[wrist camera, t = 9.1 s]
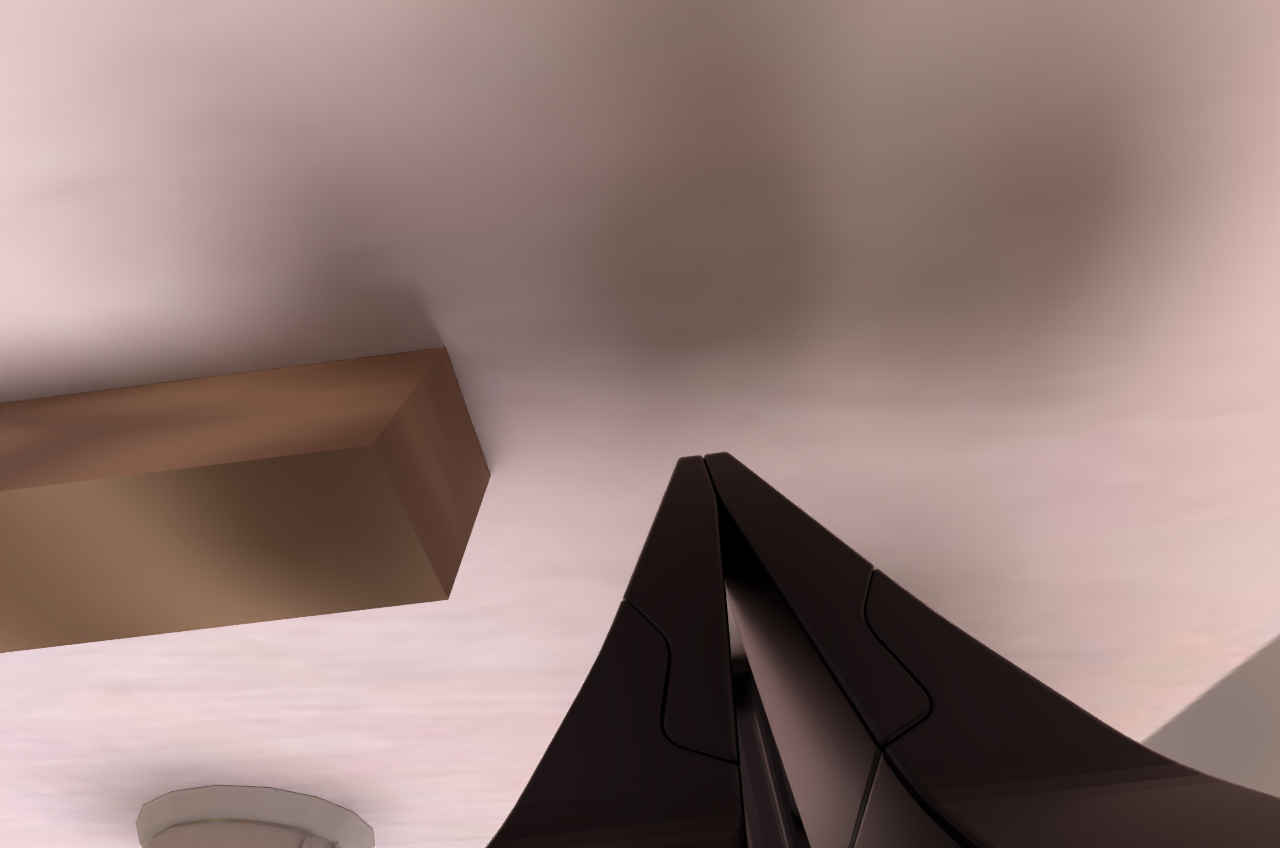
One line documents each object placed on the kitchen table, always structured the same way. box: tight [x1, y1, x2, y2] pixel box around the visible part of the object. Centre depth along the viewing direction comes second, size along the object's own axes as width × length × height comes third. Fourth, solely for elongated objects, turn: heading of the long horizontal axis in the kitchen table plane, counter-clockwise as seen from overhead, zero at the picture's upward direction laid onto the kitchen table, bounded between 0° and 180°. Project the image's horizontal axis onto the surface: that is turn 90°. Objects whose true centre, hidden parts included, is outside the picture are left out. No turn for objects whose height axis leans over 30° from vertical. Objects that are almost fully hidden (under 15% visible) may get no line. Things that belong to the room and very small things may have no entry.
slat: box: [0, 347, 490, 653], centre depth 10 cm, size 14×4×4 cm, turn 96°
